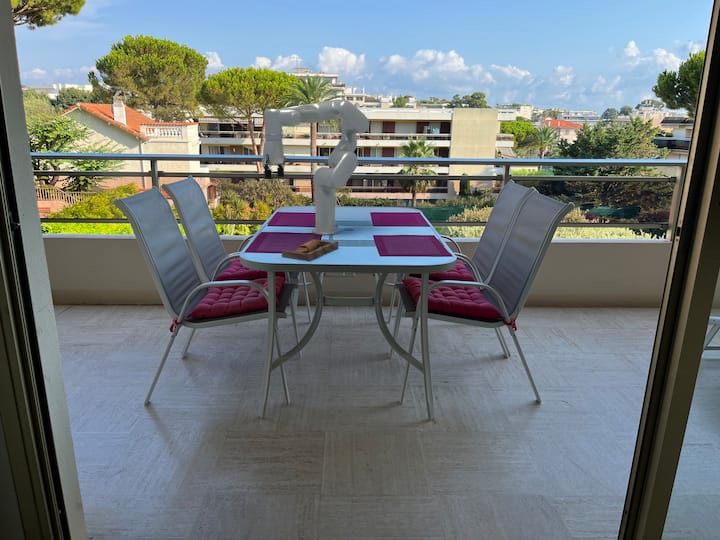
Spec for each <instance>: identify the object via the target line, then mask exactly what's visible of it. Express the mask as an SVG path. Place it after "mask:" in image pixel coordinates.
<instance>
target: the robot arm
mask: <svg viewBox="0 0 720 540" xmlns="http://www.w3.org/2000/svg"><path fill="white" fill-rule="evenodd" d="M263 115H264V116H263V117H264V142H263V147H262V148H263V149H262V159H261V164H262V167H263V170H264V180H272V178H273V177H272V166H277V167H276V169H277V171H276V173H277V174H276V175H277V177H281V178H284V177H285V165H286V160H287V157H286V156H285V155H284V153H285V152H284V145H283V144H284V143H283V127H287V128H288V127H289V128H290V127H291V128H292V127H296V126H298V125H299V124H300V123H301V124H302V123H303V124H304V123H305V124H307V123H308V124H314V123H316V124H317V123H321V122H326V121H327V122H328V121H331V120H340V122H339V125H340V126H339V127H340V133H341V137H340V140H339V141H338V143H337V145H336V146H335V147H334V149H333V150H332V152H331V153H330V155H329V156H328V159H327V164H328V166H329V167H327V166H326V167H325V166H321V167H318V168H317V169H316V170H315V171H314V173H313V184H314V185H313V186H314V190H315V192H314V193H315V194H314V195H315V228H313V229H312V230H311V231H312V233H313V234H315V235H320V236H321V235H323V236H324V235H327V236H328V235H329V236H331V235H335V234H337V233H339V230H338V228H336V227H337V226H338V225H339V222H338V221H336V192H335V190H340V189H342V188H343V187H344V186H345V185H347V182H348V181H349V180H350V178H351V176H352V175H353V173H354V172H355V170H356V169H357V166H358V161H359V160H358V156H357V154H356V153H355V150H356V149H357V145H358V139H357V138H358V137H357V134H359V135H360V134H364V133H366V132H368V130H369V129H370V120H369V118H368V117H367V115H365V114H364V113H363V112H362V111H361V110H360V109H359V108H358V107H357V106H355V104H353V103H352V102H351V101H348V99H347V100H346V99H334V100H333V99H332V100H325V101H321V102H314V103H308V104H303V105H296V106H288V107H281V108H267V109H265V110H264V113H263Z"/></svg>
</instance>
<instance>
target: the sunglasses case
mask: <svg viewBox="0 0 720 540" xmlns="http://www.w3.org/2000/svg"><path fill="white" fill-rule="evenodd" d="M310 240H311V239H310ZM310 240H309V241H307V242H305V243H303V244H301V245H300V246H299V247H298V248H297V249H295V250H294V252H299V253H305V254H307V253H309V252H311V251H314V250H316V249H318V248H321V247H320V246H321V243H320V241H319V240H320V239H314V240H311V241H310Z"/></svg>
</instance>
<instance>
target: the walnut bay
mask: <svg viewBox="0 0 720 540" xmlns="http://www.w3.org/2000/svg"><path fill="white" fill-rule="evenodd" d="M311 240H315V238H312V239H310V240H309V241H311ZM318 240H319V241H320V243H321V246H320V247H319V248H318V249H316V250H314V251H311V252H309V253H307V254H305V253H299V252H295V251H293V250H292V251H290V250H286V249H283V250H281V258H288V259H293V260H299V261H304V260H306V261H305V262H311V260H312V261H314V260H315V259H319V258H321V257H323V256H324V255H327V254H329V253H331V252H333V251H335V250H338V249H339V241H335V240H334V241H326V240H320V239H318ZM313 259H314V260H313Z"/></svg>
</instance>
